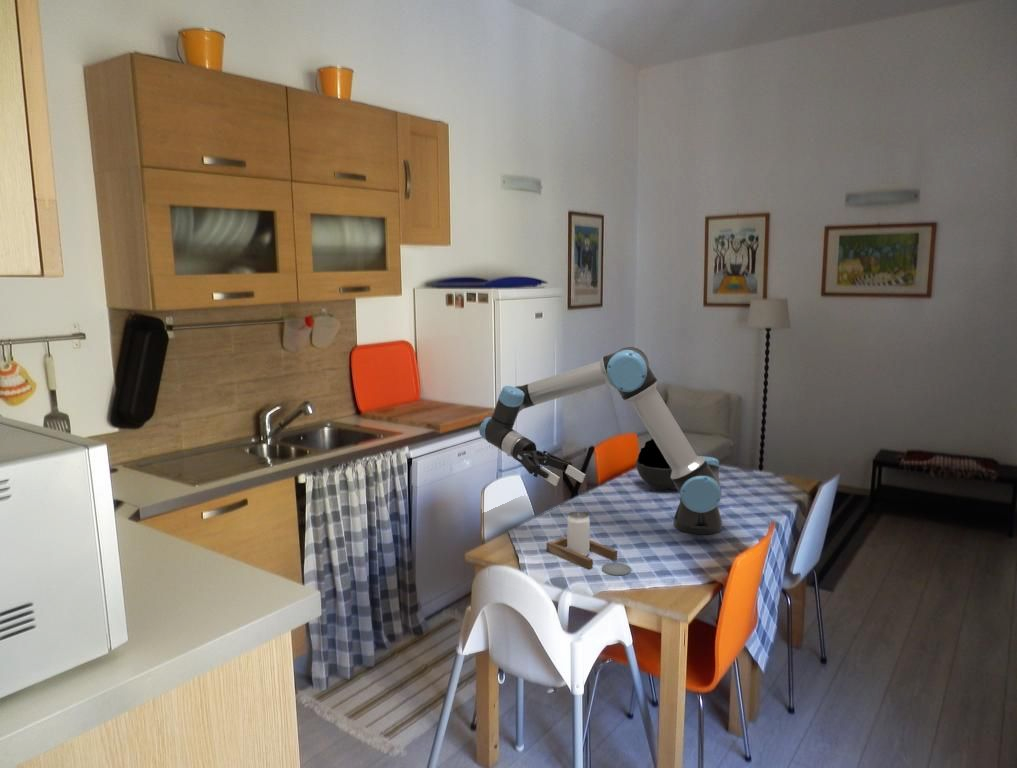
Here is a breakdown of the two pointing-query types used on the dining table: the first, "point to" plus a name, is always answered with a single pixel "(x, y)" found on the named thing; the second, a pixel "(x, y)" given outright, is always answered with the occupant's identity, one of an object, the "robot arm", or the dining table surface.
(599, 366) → the robot arm
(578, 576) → the dining table surface
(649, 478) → the coal bowl
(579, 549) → the can
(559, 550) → the u-shaped wooden frame
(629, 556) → the dining table surface
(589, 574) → the dining table surface
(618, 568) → the felt pad
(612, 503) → the dining table surface
